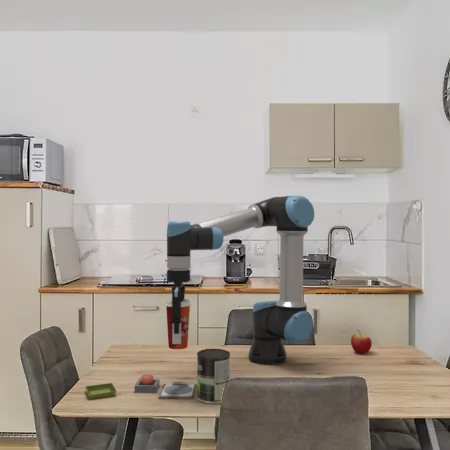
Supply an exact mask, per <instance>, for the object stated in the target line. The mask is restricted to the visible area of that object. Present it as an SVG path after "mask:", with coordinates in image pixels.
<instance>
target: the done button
mask: <svg viewBox="0 0 450 450" xmlns="http://www.w3.org/2000/svg"><path fill="white" fill-rule="evenodd" d="M140 379H141V385H153V379H154V375H153V374H143V375H141V376H140Z"/></svg>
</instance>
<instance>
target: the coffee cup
mask: <svg viewBox="0 0 450 450" xmlns="http://www.w3.org/2000/svg"><path fill="white" fill-rule="evenodd" d="M190 301H191V300H190V299H187V298H184V300H183V302H180V303H181V306H180V307H181V344H172V323H170V321H171V320H172V298H169V299H168V300H166V301H165V302H166V303H165V305H164V306H166V324H167V326H166V327H167V328H166V329H167V341H168V344H167V345H168V348H169V349H171V350H184V349H185V350H186V348H187V349H188V341H189V329H190V328H189V325H190V310H191V309H190V308H191V307H190V306H191V305H192V303H190Z"/></svg>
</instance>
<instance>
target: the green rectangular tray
mask: <svg viewBox="0 0 450 450" xmlns="http://www.w3.org/2000/svg"><path fill="white" fill-rule="evenodd" d="M84 388H85V391H86V393H87V396H88V397H89V399H91V400H93V399H102V398H107V397H113V396H114V395H116V392H117V389H116V387H115V385H114V384H113V383H112V382H108V383H100V384H92V385H86V386H85V387H84Z"/></svg>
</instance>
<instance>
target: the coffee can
mask: <svg viewBox="0 0 450 450" xmlns="http://www.w3.org/2000/svg"><path fill="white" fill-rule="evenodd" d="M196 356H197V366H196V367H197V371H196V372H197V376H196V377H197V379H196V380H197V383H196V384H197V387H196V390H197V391H196V399H197V400H198V401H199V402H200V403H204V404H210V405H216V404H217V405H218V404H221V403H220V402H221V397H222V392H223V388H224V385H225V383H226V382H227V381H228V380H229V381H230V373H231V372H230V370H231V369H230V362H231V361H230V360H231V358H230V356H231V352H230V351H229V350H226V349H223V348H205V349H201V350H199V351H197V353H196Z"/></svg>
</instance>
